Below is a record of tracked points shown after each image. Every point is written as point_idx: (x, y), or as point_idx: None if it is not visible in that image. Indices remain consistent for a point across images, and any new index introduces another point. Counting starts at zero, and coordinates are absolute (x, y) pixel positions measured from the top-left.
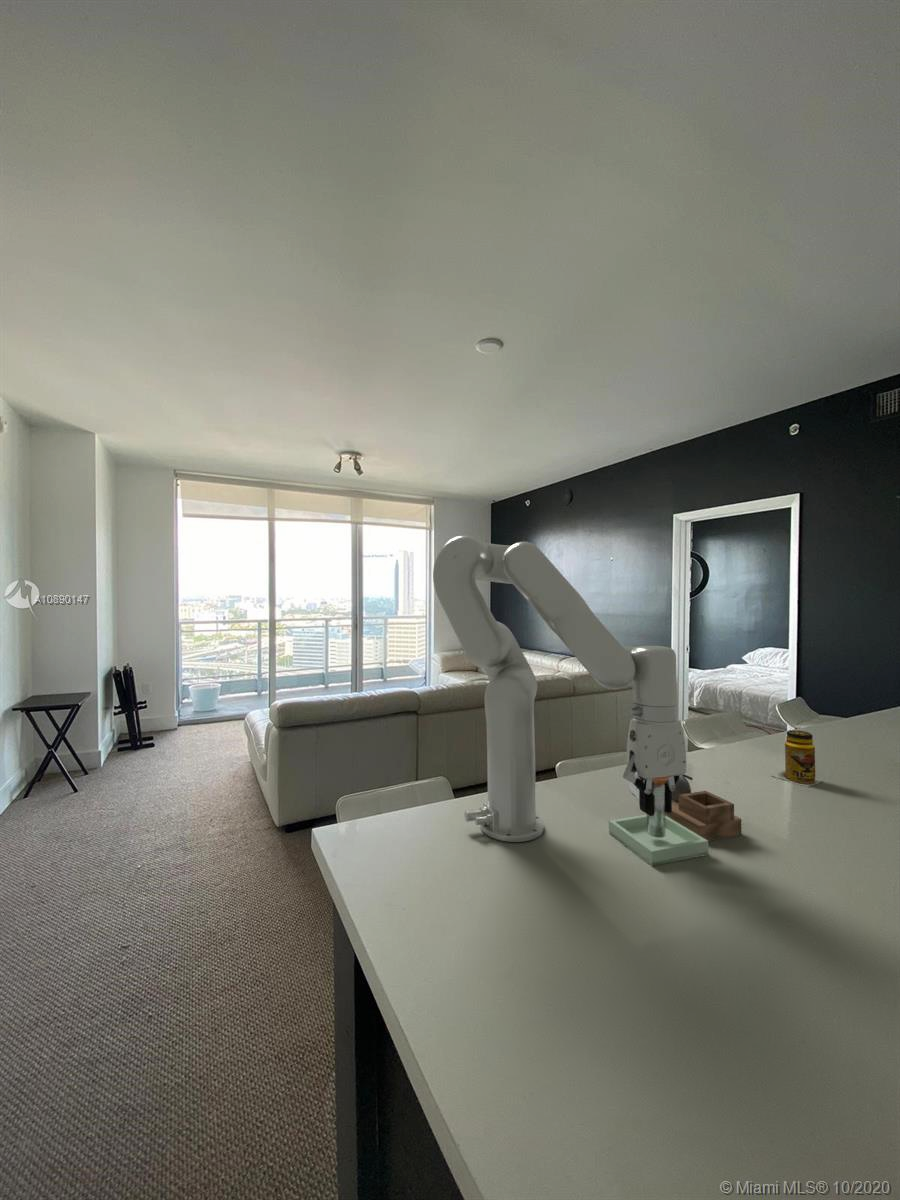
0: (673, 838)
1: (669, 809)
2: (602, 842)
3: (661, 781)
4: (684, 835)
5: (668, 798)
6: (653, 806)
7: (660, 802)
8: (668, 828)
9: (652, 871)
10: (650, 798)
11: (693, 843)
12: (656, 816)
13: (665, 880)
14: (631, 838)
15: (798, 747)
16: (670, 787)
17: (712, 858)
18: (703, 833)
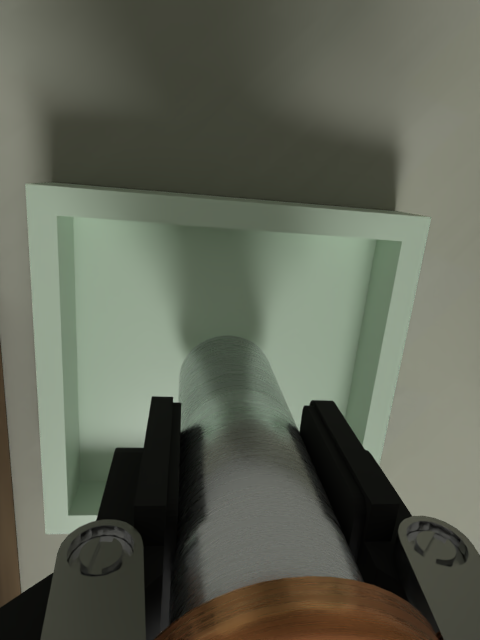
0: (123, 352)
1: (172, 407)
2: (422, 438)
3: (363, 611)
4: (70, 331)
5: (173, 465)
6: (335, 433)
7: (271, 445)
8: (78, 429)
9: (425, 177)
10: (379, 485)
11: (142, 195)
12: (276, 398)
13: (436, 92)
14: (394, 369)
15: None
16: (119, 558)
17: (55, 148)
18: None
